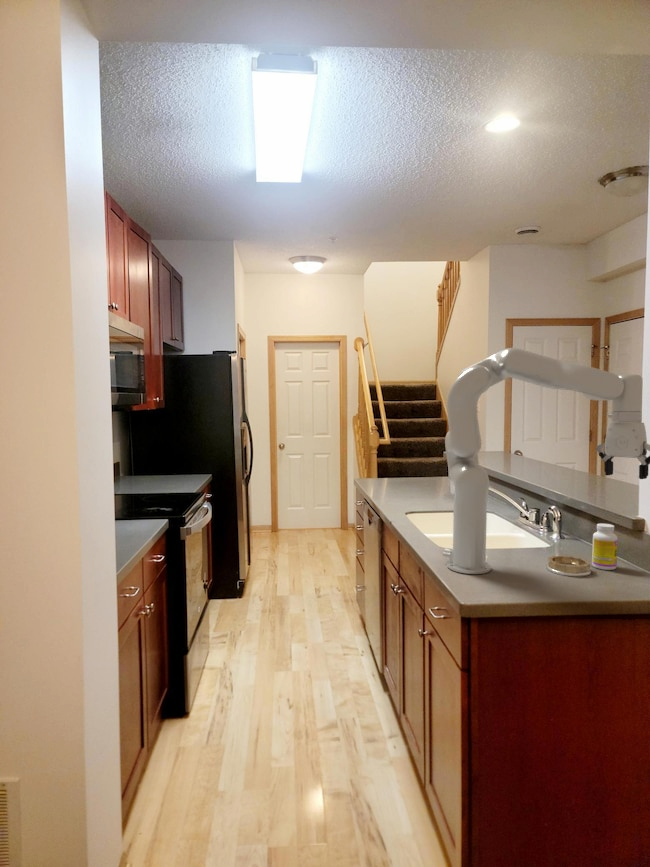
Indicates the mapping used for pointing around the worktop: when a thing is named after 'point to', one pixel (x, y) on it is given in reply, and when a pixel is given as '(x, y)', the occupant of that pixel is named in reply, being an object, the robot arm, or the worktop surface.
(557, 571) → the flange plate
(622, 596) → the worktop surface
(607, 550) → the supplement bottle
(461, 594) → the worktop surface
